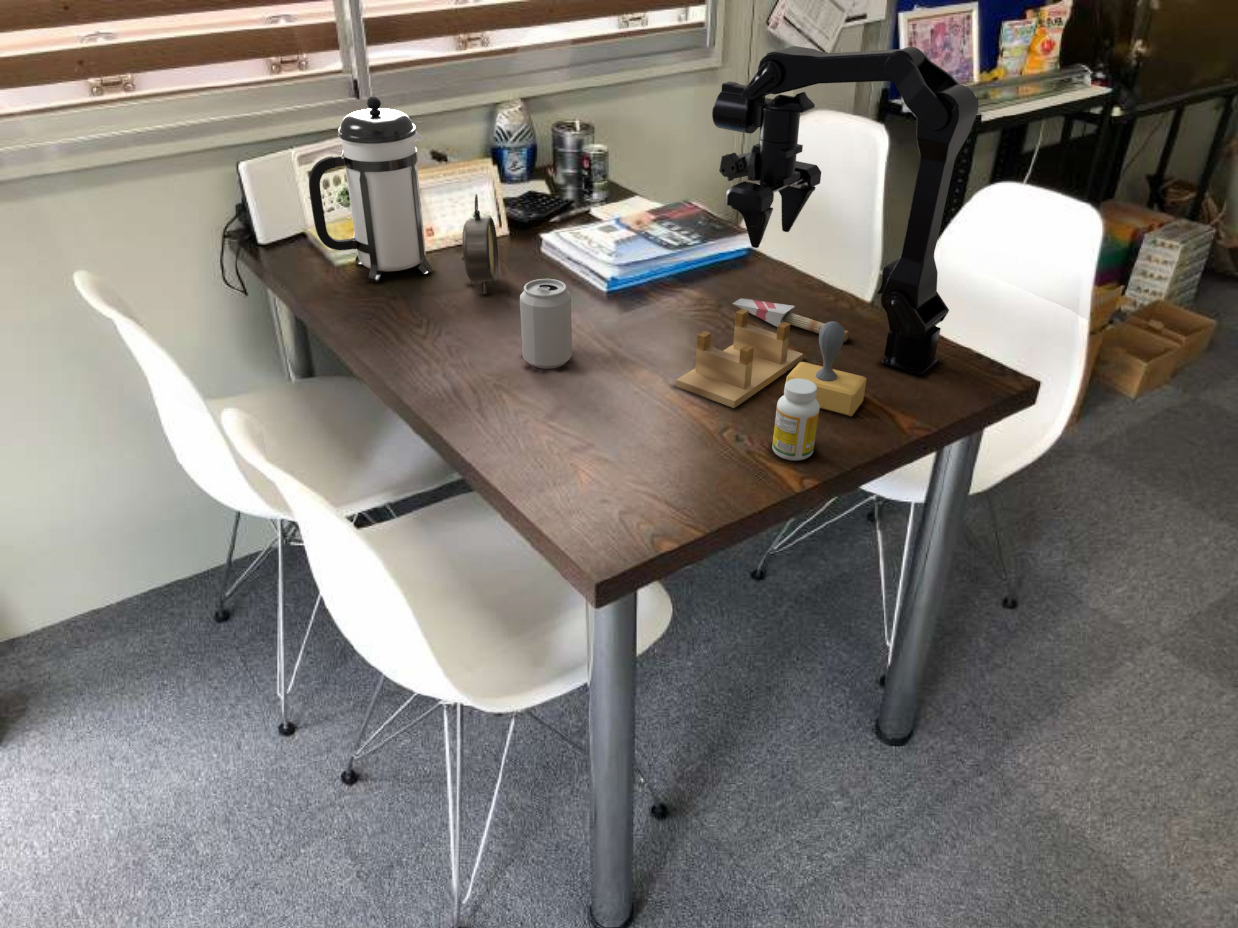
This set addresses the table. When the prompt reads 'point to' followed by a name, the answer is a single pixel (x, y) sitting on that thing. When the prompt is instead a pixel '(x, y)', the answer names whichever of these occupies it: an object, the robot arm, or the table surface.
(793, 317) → the paintbrush
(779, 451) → the supplement bottle
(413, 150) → the coffee press
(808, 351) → the table surface
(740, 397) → the brush rack
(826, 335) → the rubber stamp
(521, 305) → the can
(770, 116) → the robot arm
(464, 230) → the alarm clock
